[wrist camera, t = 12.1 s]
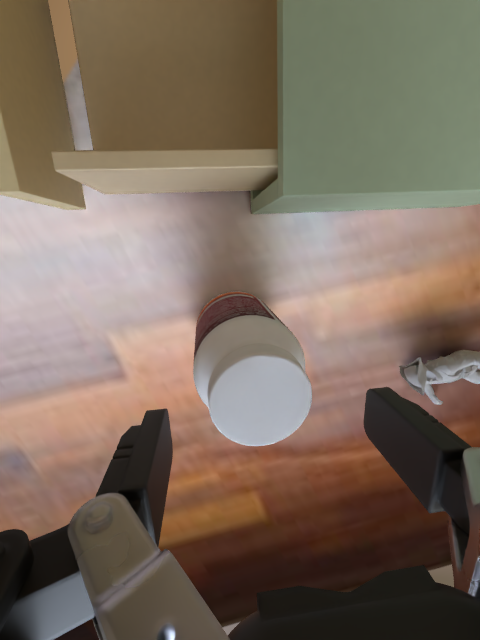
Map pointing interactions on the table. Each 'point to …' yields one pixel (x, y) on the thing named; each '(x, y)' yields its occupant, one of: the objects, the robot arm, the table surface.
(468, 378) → the soldier figure
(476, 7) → the cabinet
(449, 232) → the table surface
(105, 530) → the robot arm
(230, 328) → the pill bottle
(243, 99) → the drawer
